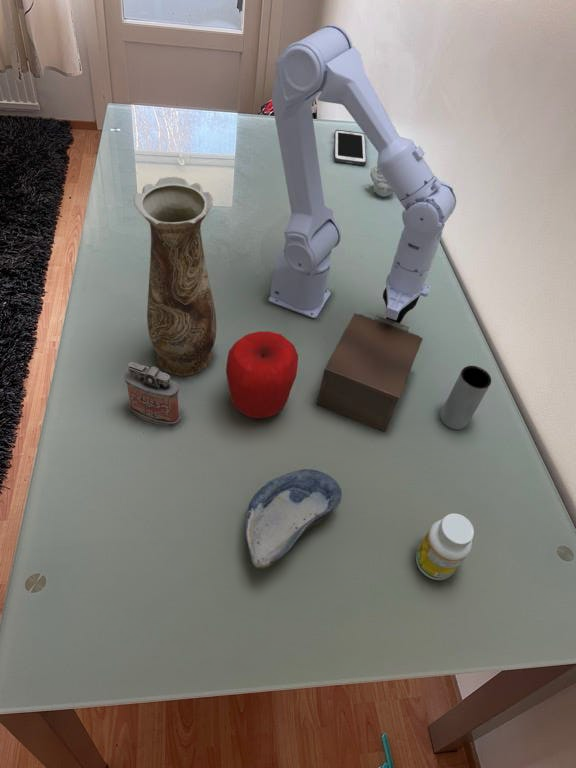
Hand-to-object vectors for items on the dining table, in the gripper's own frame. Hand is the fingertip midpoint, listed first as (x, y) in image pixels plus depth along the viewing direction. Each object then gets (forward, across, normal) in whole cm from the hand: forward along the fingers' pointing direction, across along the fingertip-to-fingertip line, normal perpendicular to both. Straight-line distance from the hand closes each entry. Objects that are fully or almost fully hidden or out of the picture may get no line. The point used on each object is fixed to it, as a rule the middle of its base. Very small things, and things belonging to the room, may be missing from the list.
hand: (392, 323), depth 101 cm
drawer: (+3, -9, 0) cm, 9 cm away
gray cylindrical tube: (+4, -12, -15) cm, 20 cm away
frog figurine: (+4, +44, +15) cm, 47 cm away
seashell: (+4, -41, +1) cm, 41 cm away
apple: (+4, -24, +14) cm, 28 cm away
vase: (+4, -21, +29) cm, 36 cm away
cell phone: (+4, +59, +28) cm, 66 cm away
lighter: (+4, -33, +27) cm, 43 cm away
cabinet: (+4, -13, 0) cm, 13 cm away
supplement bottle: (+4, -37, -18) cm, 41 cm away
